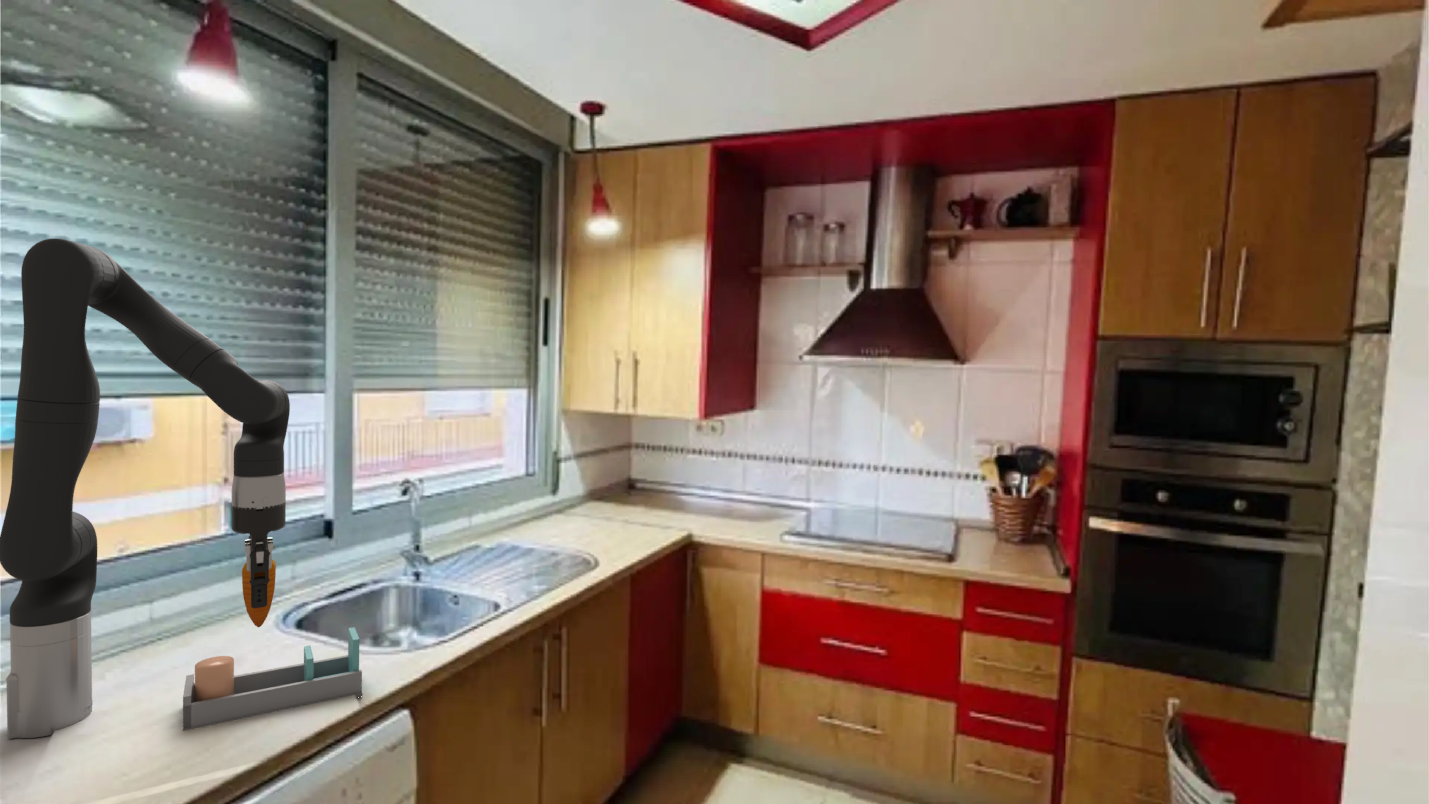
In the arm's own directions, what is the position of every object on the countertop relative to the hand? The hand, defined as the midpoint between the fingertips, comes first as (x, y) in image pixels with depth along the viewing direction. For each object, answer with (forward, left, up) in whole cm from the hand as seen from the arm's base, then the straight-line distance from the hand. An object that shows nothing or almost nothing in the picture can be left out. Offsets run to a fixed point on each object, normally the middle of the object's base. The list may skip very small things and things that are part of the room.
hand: (258, 601), depth 117 cm
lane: (+3, 0, -18) cm, 18 cm away
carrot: (0, 0, -5) cm, 5 cm away
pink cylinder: (-6, 0, -17) cm, 18 cm away
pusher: (+11, 0, -17) cm, 20 cm away
